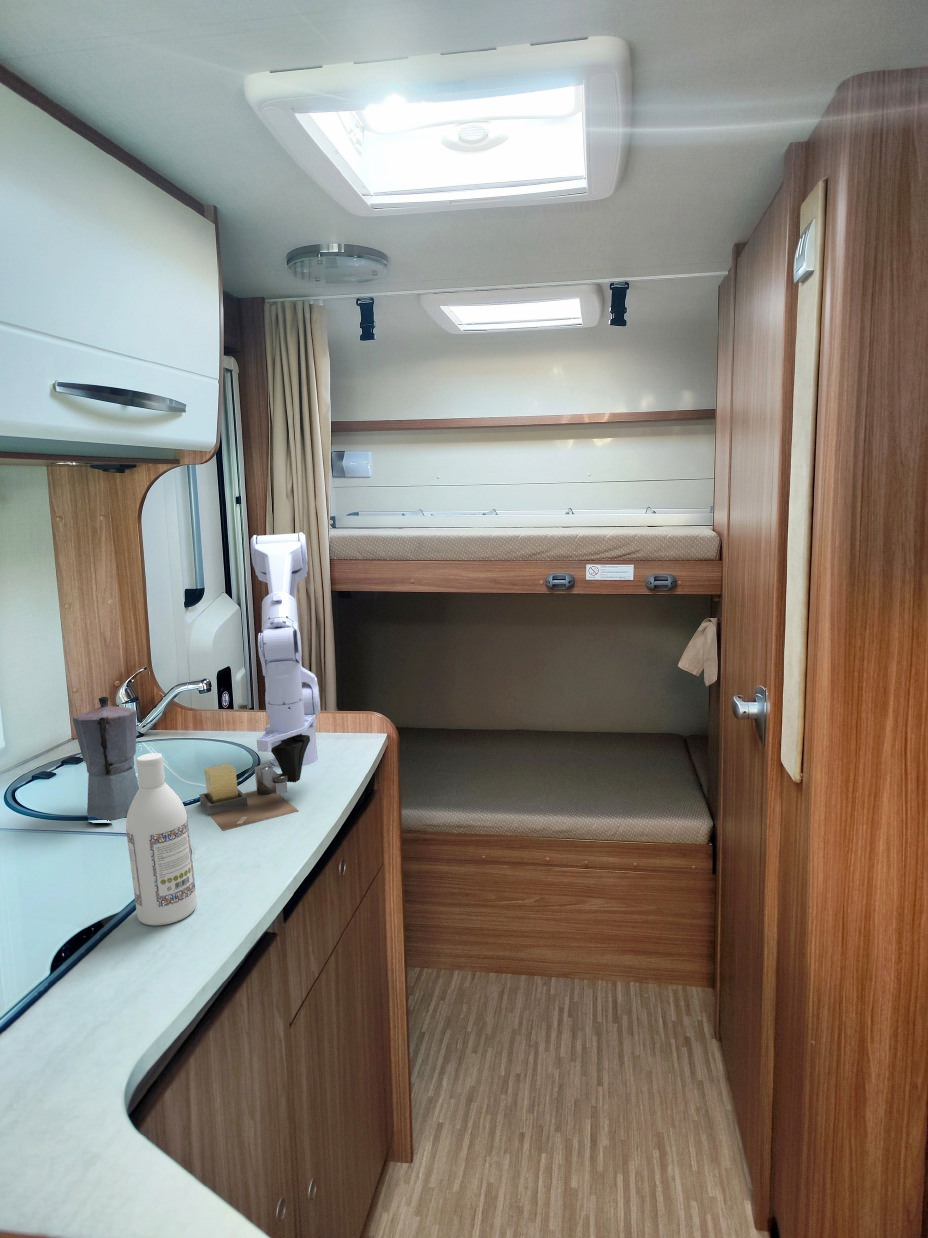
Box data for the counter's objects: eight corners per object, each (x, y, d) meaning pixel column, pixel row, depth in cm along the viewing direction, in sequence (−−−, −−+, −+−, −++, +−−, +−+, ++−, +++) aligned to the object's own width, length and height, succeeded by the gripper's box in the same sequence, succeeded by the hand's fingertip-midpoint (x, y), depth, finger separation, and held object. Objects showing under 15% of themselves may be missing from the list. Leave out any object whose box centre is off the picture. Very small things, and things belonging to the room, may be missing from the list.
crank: (254, 791, 135) (251, 762, 134) (271, 787, 136) (269, 758, 136) (275, 810, 125) (272, 780, 125) (293, 806, 127) (291, 775, 126)
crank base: (201, 809, 131) (199, 794, 131) (271, 792, 137) (270, 778, 137) (223, 837, 119) (221, 820, 119) (299, 817, 125) (298, 801, 125)
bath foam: (208, 900, 100) (191, 747, 97) (177, 929, 93) (158, 766, 90) (159, 897, 101) (141, 747, 98) (125, 926, 95) (104, 765, 92)
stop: (208, 803, 130) (204, 768, 129) (232, 798, 132) (228, 763, 131) (214, 811, 127) (210, 775, 126) (239, 805, 129) (235, 769, 128)
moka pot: (145, 796, 139) (132, 685, 136) (152, 826, 125) (137, 703, 122) (85, 808, 135) (70, 694, 132) (86, 840, 121) (69, 713, 118)
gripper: (288, 689, 137) (295, 764, 139) (237, 711, 123) (245, 794, 125) (324, 690, 134) (330, 767, 136) (275, 713, 121) (283, 798, 123)
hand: (292, 780), depth 130 cm, fingers closed
